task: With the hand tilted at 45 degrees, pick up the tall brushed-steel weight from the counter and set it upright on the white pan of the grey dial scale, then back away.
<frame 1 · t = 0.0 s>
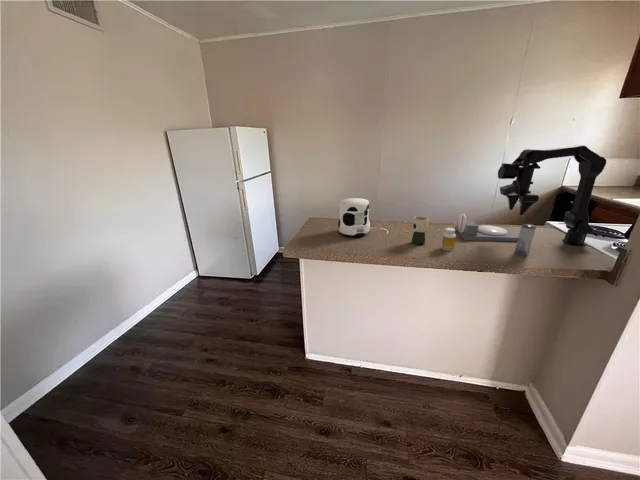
hand: (515, 212, 127), 15 cm above the table, tool pointing down, fingers open, 9 cm apart
steel weight: (521, 253, 119), on the table
supplement bottle: (447, 249, 126), on the table
character mug: (418, 243, 134), on the table
dial scale: (484, 234, 142), on the table
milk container: (353, 233, 149), on the table
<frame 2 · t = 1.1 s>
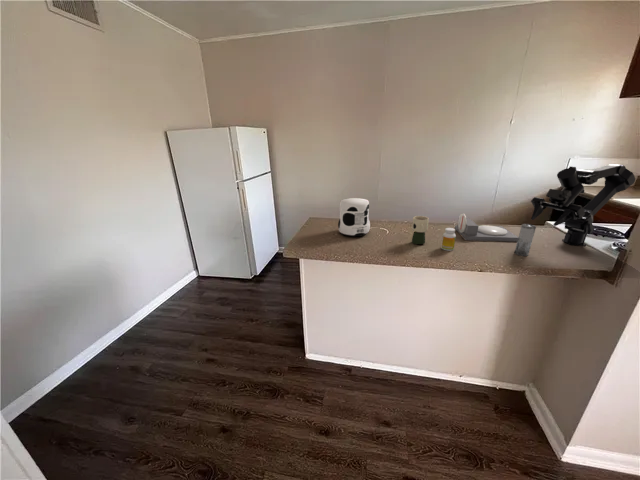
hand: (542, 222, 116), 13 cm above the table, tool tilted 45°, fingers open, 9 cm apart
nothing on the table moved.
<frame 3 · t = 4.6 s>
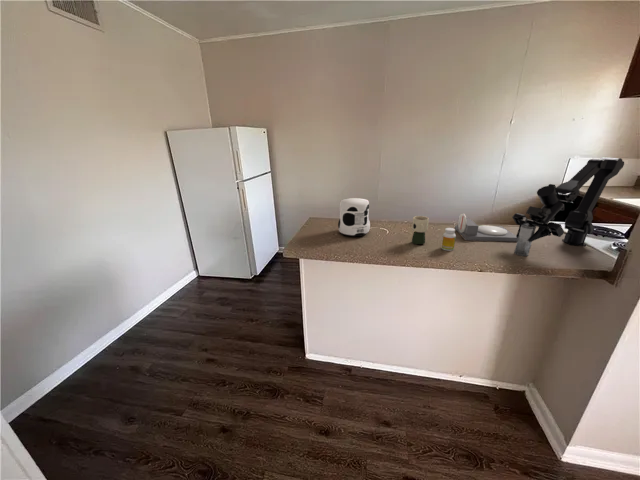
hand: (522, 239, 116), 7 cm above the table, tool tilted 45°, fingers closed on steel weight, 5 cm apart
steel weight: (521, 253, 119), on the table, touching gripper
everything else where it was.
when the fingers open (11 cm above the table, at t = 10.5 s): steel weight stays where it is, resting on dial scale.
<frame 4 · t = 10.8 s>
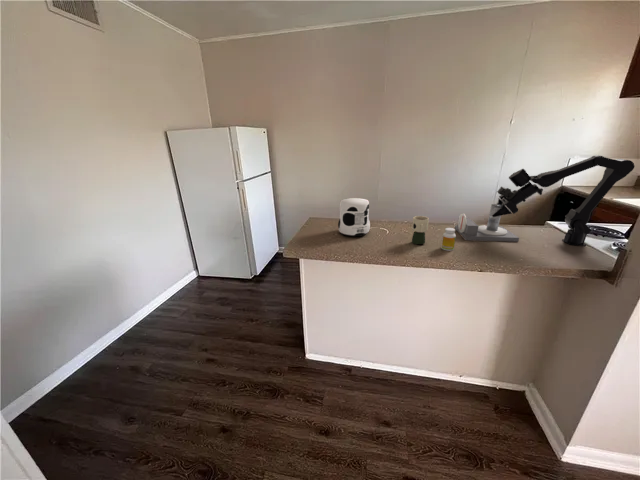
hand: (491, 214, 138), 11 cm above the table, tool tilted 45°, fingers open, 8 cm apart
steel weight: (491, 229, 140), point 3 cm above the table, touching dial scale
everything else where it was.
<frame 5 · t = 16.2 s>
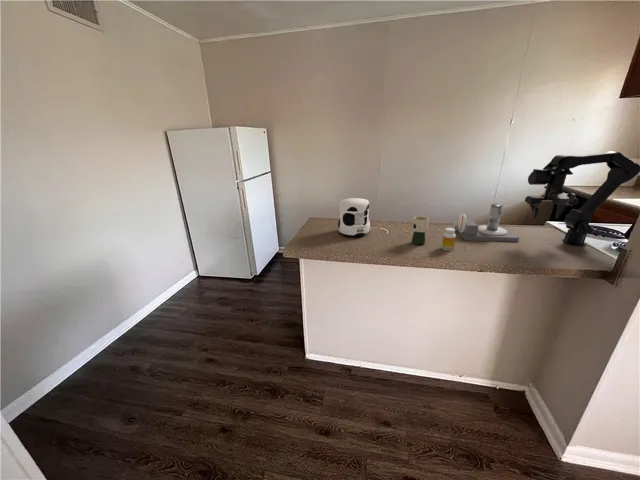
hand: (545, 218, 126), 12 cm above the table, tool pointing down, fingers open, 9 cm apart
nothing on the table moved.
at the end: steel weight inside the target area on the dial scale (0.1 cm from its centre), point 2.8 cm above the dial scale's base; steel weight tilted 0°; the gripper is holding nothing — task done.
